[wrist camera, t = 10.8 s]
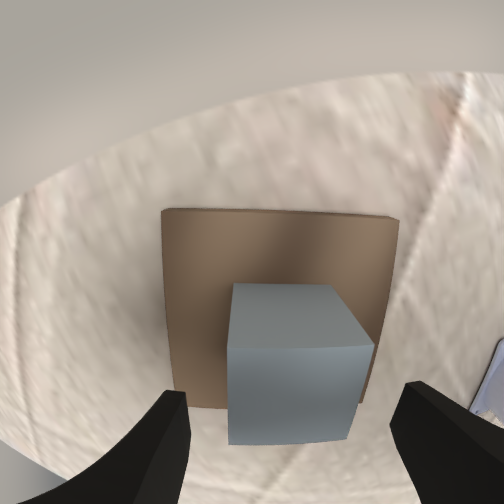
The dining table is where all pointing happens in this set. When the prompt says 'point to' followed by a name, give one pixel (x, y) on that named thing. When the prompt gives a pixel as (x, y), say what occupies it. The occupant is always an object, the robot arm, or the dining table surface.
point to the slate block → (293, 364)
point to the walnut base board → (263, 278)
